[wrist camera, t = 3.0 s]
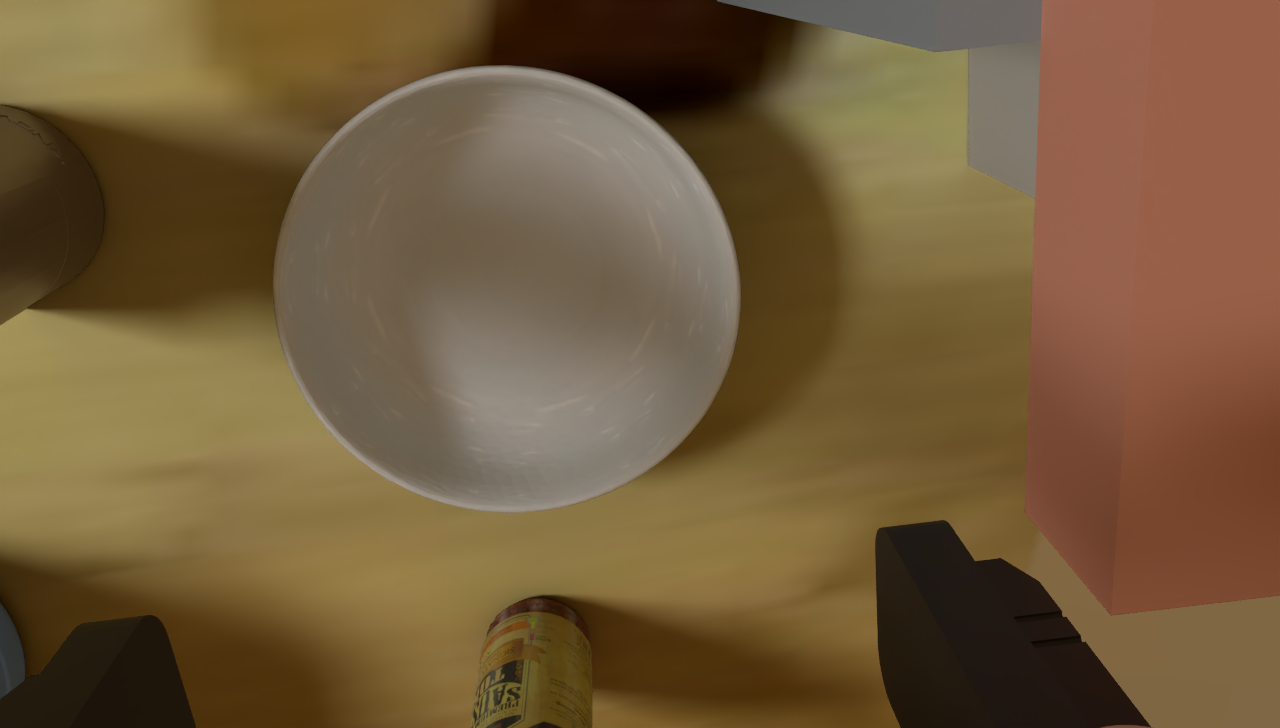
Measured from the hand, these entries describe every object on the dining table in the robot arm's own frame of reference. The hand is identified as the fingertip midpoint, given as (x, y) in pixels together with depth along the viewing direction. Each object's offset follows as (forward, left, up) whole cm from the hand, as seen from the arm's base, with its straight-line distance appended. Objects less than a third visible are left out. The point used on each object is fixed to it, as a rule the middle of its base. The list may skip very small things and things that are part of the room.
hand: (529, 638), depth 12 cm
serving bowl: (-7, -2, -42) cm, 43 cm away
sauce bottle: (-25, -15, -42) cm, 52 cm away
